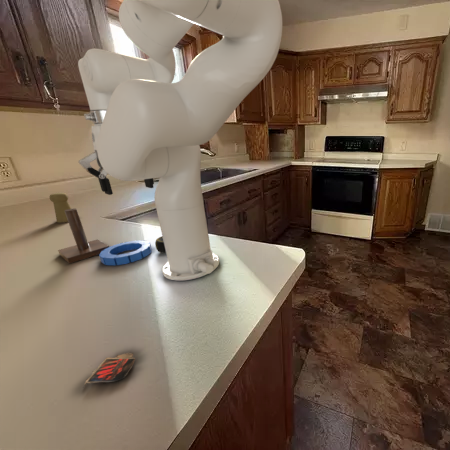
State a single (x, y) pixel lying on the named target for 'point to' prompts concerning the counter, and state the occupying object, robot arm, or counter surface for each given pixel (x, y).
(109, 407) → the counter surface
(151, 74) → the robot arm
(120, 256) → the tape roll
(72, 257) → the stand
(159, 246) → the tape measure
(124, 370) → the matchbox
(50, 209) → the counter surface
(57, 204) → the cork
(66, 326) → the counter surface
